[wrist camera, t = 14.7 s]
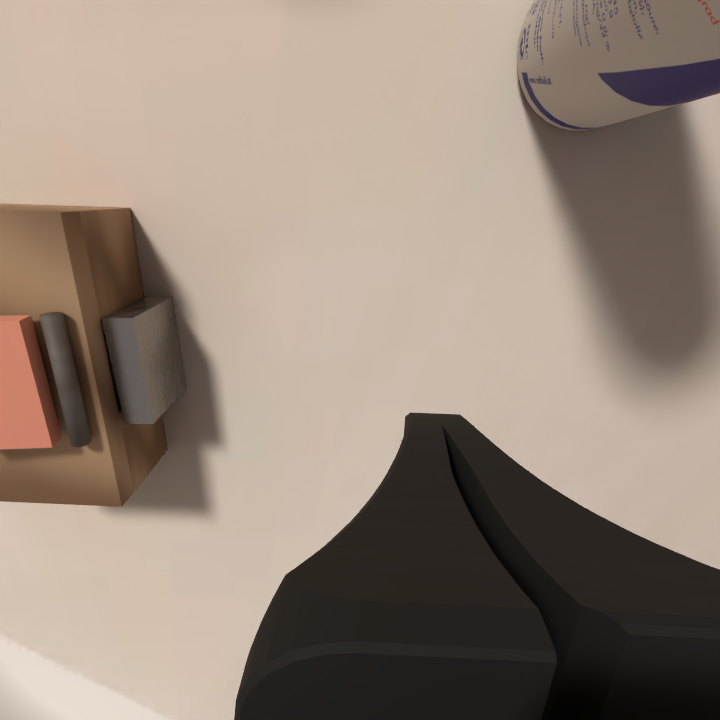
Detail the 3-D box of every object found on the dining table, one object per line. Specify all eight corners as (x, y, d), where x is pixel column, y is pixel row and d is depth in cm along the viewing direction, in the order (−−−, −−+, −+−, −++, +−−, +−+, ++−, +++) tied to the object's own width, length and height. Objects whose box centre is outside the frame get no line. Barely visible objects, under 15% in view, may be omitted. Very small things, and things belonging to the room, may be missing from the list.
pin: (187, 387, 22) (152, 424, 18) (6, 385, 22) (-60, 420, 18) (173, 296, 20) (131, 318, 17) (-23, 295, 20) (-102, 316, 17)
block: (167, 449, 23) (111, 518, 18) (54, 445, 23) (-31, 512, 18) (130, 208, 18) (44, 213, 14) (-9, 203, 19) (-143, 207, 14)
